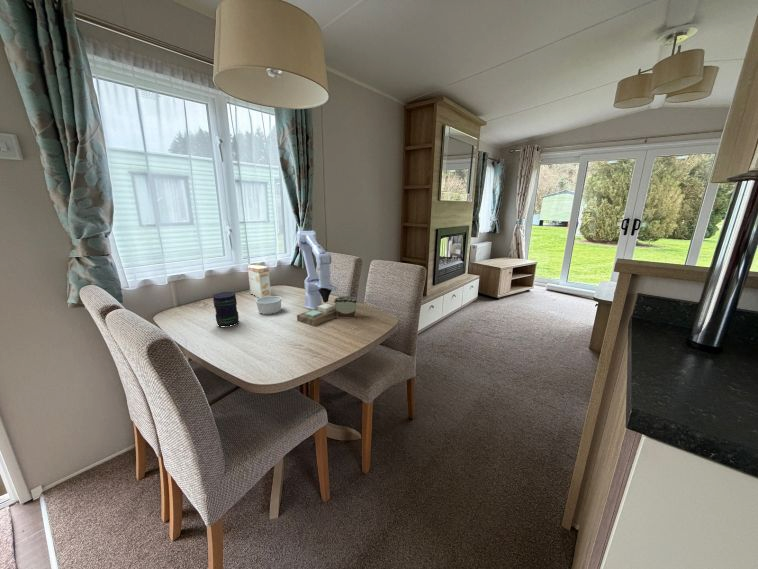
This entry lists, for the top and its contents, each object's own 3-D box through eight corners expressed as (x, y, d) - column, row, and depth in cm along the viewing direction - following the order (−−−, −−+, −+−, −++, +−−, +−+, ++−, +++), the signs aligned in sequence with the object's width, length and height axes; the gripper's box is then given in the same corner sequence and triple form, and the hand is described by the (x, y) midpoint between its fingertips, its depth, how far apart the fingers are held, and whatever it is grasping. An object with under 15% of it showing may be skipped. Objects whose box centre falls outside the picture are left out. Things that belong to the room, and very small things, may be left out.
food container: (359, 314, 157) (359, 296, 154) (357, 318, 151) (357, 299, 148) (337, 313, 158) (336, 295, 156) (334, 317, 152) (333, 299, 150)
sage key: (305, 317, 147) (304, 313, 147) (313, 314, 152) (313, 310, 152) (313, 320, 144) (312, 315, 144) (322, 316, 149) (321, 312, 148)
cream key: (318, 310, 154) (317, 306, 154) (326, 307, 159) (325, 303, 158) (326, 313, 151) (325, 308, 150) (334, 310, 156) (334, 305, 155)
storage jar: (234, 318, 151) (231, 290, 147) (242, 323, 144) (239, 294, 140) (213, 323, 144) (209, 294, 140) (221, 329, 137) (216, 298, 133)
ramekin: (277, 315, 155) (276, 303, 153) (252, 315, 155) (251, 302, 154) (285, 307, 168) (284, 295, 166) (263, 307, 168) (261, 295, 166)
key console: (297, 320, 148) (296, 315, 147) (325, 309, 163) (325, 304, 163) (313, 326, 141) (313, 320, 140) (341, 314, 157) (341, 308, 156)
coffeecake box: (271, 296, 188) (268, 267, 184) (261, 299, 183) (257, 268, 178) (260, 292, 198) (257, 264, 193) (250, 294, 193) (246, 265, 188)
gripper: (308, 276, 151) (310, 301, 155) (329, 280, 143) (330, 306, 147) (318, 274, 157) (320, 298, 160) (339, 277, 149) (339, 302, 152)
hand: (325, 301), depth 154 cm, fingers closed
